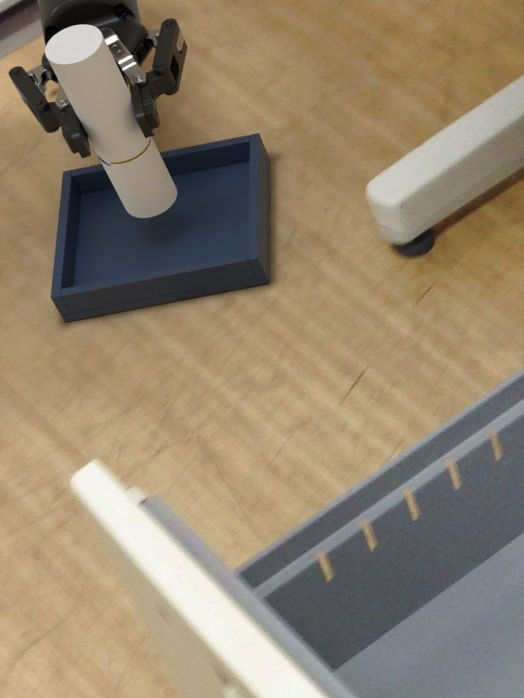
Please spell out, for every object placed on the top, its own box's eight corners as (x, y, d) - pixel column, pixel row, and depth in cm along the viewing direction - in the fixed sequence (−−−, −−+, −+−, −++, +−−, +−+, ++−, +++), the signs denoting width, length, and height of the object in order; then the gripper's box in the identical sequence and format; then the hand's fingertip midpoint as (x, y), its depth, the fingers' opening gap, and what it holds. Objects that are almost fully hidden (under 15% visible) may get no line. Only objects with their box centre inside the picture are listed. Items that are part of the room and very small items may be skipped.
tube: (185, 181, 142) (112, 26, 130) (163, 220, 140) (86, 66, 128) (138, 176, 144) (61, 22, 131) (115, 215, 142) (35, 61, 129)
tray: (64, 322, 142) (50, 297, 139) (76, 196, 150) (62, 171, 148) (269, 283, 141) (257, 257, 138) (269, 158, 149) (259, 132, 147)
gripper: (-21, -10, 139) (-1, 128, 130) (156, -65, 140) (188, 68, 131) (21, 68, 146) (42, 205, 136) (190, 14, 146) (223, 147, 137)
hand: (113, 137), depth 133 cm, fingers closed on tube, 4 cm apart
